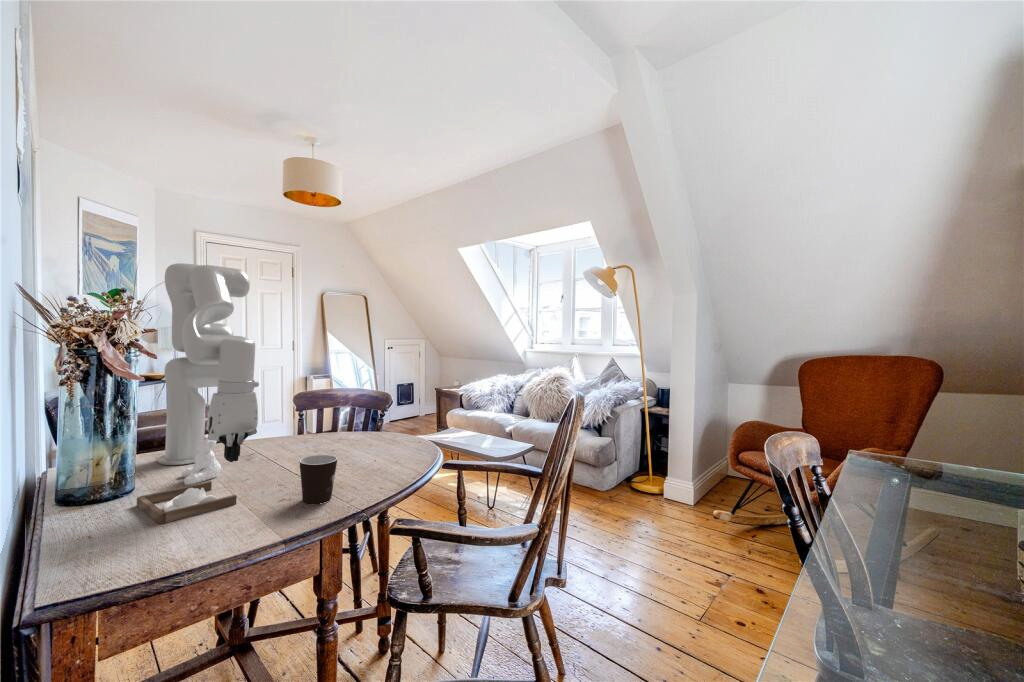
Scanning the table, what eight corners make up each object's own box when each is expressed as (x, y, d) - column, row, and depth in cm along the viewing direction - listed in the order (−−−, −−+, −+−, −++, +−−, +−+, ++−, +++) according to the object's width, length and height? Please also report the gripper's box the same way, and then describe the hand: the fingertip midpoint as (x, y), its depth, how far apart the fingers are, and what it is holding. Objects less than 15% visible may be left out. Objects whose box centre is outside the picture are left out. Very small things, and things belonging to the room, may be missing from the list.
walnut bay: (136, 505, 98) (136, 497, 98) (209, 489, 110) (210, 481, 110) (159, 524, 89) (160, 515, 89) (236, 504, 101) (236, 495, 101)
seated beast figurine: (180, 476, 118) (181, 433, 118) (217, 470, 124) (219, 429, 123) (184, 486, 111) (186, 440, 111) (224, 479, 117) (226, 435, 117)
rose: (216, 492, 97) (161, 499, 92) (215, 511, 97) (160, 520, 92) (216, 479, 105) (166, 485, 100) (216, 497, 105) (165, 504, 100)
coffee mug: (321, 508, 101) (323, 466, 101) (289, 504, 102) (291, 462, 102) (349, 491, 112) (351, 453, 112) (320, 487, 114) (322, 450, 114)
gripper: (259, 383, 115) (256, 451, 116) (194, 387, 103) (190, 463, 103) (273, 387, 111) (270, 457, 111) (207, 392, 99) (203, 471, 99)
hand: (231, 460), depth 107 cm, fingers closed
